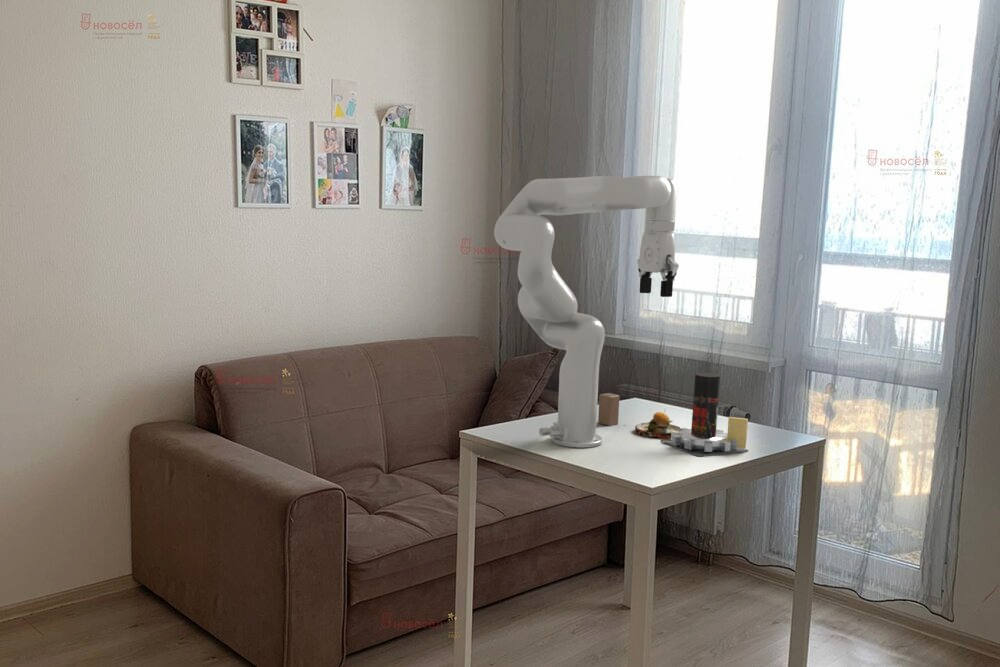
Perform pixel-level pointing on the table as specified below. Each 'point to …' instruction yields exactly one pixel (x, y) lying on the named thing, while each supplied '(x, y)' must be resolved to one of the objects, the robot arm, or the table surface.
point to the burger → (657, 427)
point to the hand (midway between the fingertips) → (655, 294)
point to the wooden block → (608, 409)
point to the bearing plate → (701, 452)
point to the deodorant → (705, 405)
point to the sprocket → (720, 442)
